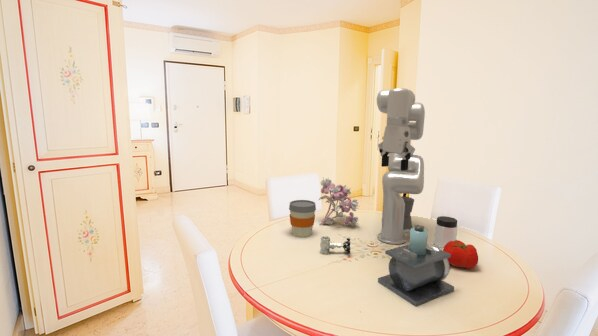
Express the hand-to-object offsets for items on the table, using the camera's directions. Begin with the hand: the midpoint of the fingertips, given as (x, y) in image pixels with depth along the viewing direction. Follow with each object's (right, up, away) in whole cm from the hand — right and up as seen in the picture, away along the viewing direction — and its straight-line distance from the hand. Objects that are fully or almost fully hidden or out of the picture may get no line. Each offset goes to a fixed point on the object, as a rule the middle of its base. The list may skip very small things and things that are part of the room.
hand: (394, 168), depth 123 cm
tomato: (+25, -37, +1) cm, 45 cm away
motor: (+2, -39, -15) cm, 42 cm away
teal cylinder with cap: (+3, -27, -17) cm, 32 cm away
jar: (+28, -34, +20) cm, 49 cm away
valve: (-22, -35, +10) cm, 42 cm away
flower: (-14, -29, +45) cm, 56 cm away
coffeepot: (+17, -30, +43) cm, 55 cm away
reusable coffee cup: (-35, -31, +31) cm, 56 cm away
